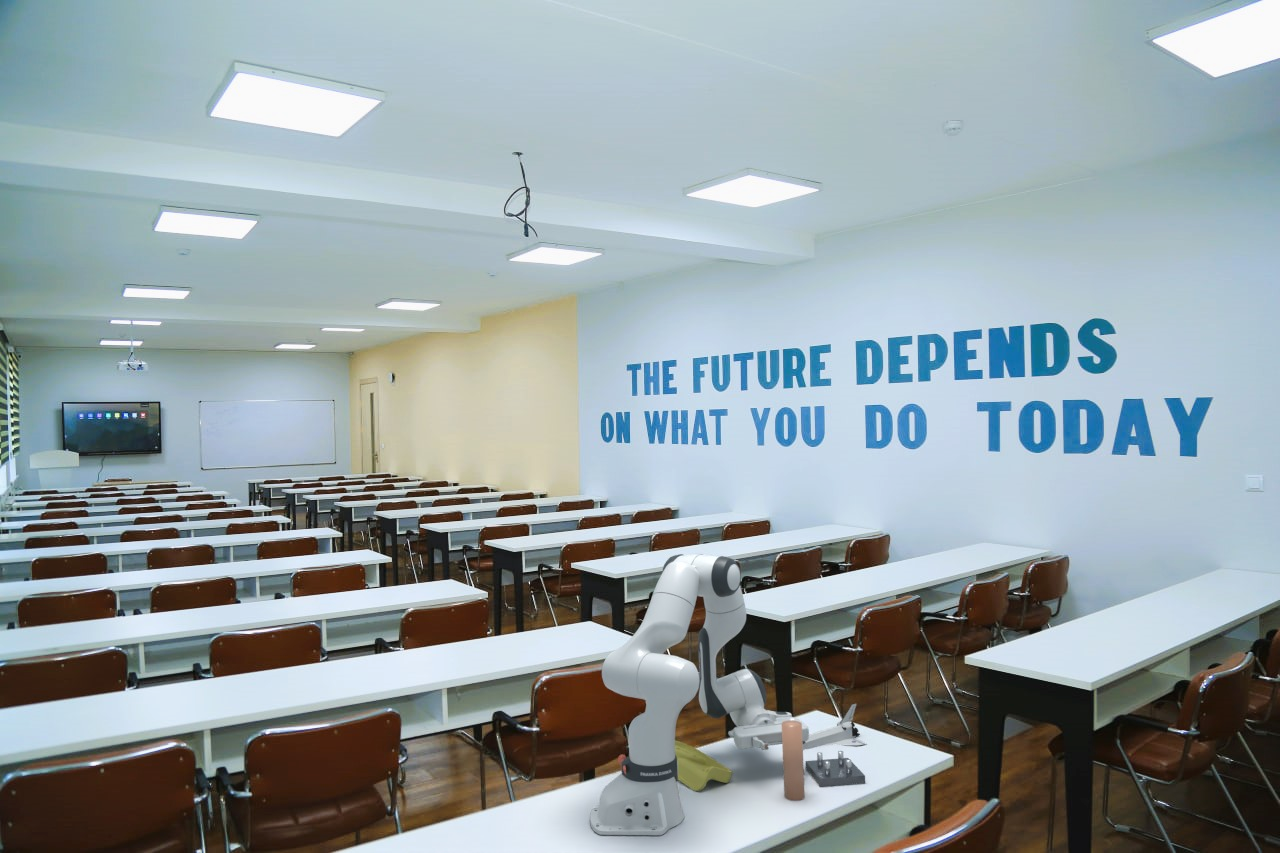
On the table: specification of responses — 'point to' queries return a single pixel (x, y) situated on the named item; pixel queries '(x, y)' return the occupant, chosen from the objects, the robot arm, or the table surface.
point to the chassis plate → (834, 771)
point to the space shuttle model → (836, 734)
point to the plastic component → (698, 767)
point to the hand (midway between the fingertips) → (782, 744)
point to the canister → (793, 760)
